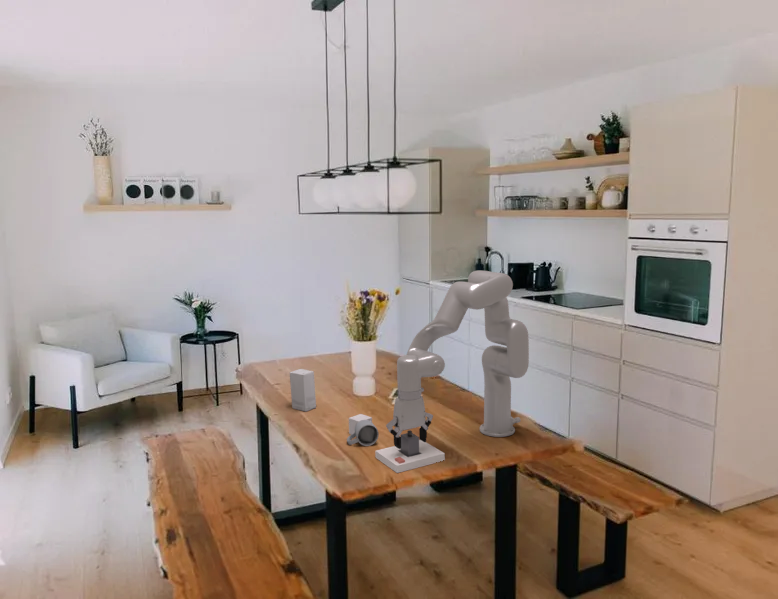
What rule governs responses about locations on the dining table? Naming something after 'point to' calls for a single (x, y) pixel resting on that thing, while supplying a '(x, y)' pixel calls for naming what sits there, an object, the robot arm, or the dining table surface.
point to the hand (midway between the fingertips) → (410, 444)
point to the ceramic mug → (364, 433)
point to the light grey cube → (356, 419)
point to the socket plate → (404, 463)
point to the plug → (409, 444)
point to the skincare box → (303, 389)
